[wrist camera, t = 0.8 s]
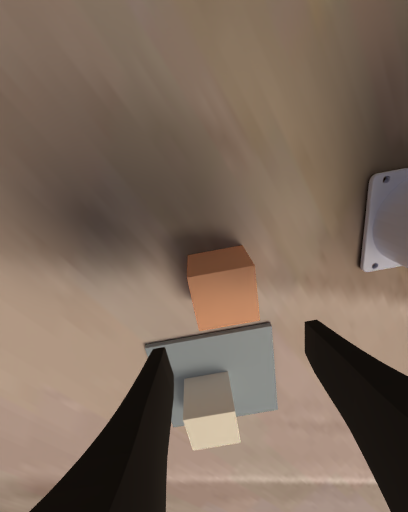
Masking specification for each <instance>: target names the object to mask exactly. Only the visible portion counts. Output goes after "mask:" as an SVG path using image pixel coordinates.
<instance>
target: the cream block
mask: <svg viewBox="0 0 408 512" xmlns="http://www.w3.org/2000/svg"><path fill="white" fill-rule="evenodd" d="M183 422H184V425H185V428H186V431H187V434H188V437H189V440H190V443H191V446H192V449H193V451H194V450H200V449H206V448H212V447H218V446H224V445H230V444H236V443H241V441H240V435H239V430H238V424H237V418H236V413H235V407H234V401H233V396H232V391H231V385H230V380H229V374H228V371H227V372H221V373H215V374H209V375H204V376H198V377H192V378H186V379H184V402H183Z"/></svg>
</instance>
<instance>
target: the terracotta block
mask: <svg viewBox="0 0 408 512" xmlns="http://www.w3.org/2000/svg"><path fill="white" fill-rule="evenodd" d="M187 280H188V285H189V289H190V293H191V298H192V302H193V306H194V311H195V315H196V319H197V324H198V328H199V331H203V330H208V329H214V328H220V327H225V326H231V325H237V324H243V323H248V322H254V321H260V316H259V305H258V295H257V284H256V274H255V265H254V264H253V262H252V260H251V259H250V257H249V255H248V254H247V252H246V250H245V249H244V247H243V246H242V245H240V246H235V247H230V248H224V249H219V250H213V251H208V252H202V253H197V254H191V255H188V261H187Z"/></svg>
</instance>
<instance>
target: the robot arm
mask: <svg viewBox="0 0 408 512" xmlns="http://www.w3.org/2000/svg"><path fill="white" fill-rule="evenodd" d="M384 177H386V179H385V181H384V182H383V178H384ZM374 263H375V264H374ZM373 264H374V265H373ZM372 265H373V266H372ZM399 266H404V267H406V268H408V168H403V169H397V170H392V171H387V172H381V173H376V174H374V175H373V176H372V177H371V178H370V181H369V188H368V198H367V207H366V217H365V226H364V236H363V245H362V255H361V264H360V268H361V270H363V271H365V272H371V271H377V270H382V269H388V268H393V267H399ZM305 354H306V356H307V358H308V360H309V362H310V364H311V366H312V368H313V370H314V372H315V374H316V376H317V377H318V379H319V380H320V382H321V384H322V385H323V387H324V389H325V390H326V392H327V393H328V395H329V396H330V398H331V400H332V401H333V403H334V404H335V406H336V408H337V409H338V411H339V412H340V414H341V416H342V417H343V419H344V420H345V422H346V424H347V426H348V427H349V429H350V431H351V433H352V435H353V437H354V438H355V440H356V442H357V444H358V446H359V448H360V450H361V452H362V454H363V456H364V458H365V460H366V462H367V464H368V466H369V468H370V470H371V472H372V474H373V476H374V478H375V480H376V482H377V484H378V486H379V488H380V490H381V492H382V494H383V496H384V498H385V500H386V502H387V505H388V507H389V509H390V511H391V512H408V376H406V375H404V374H402V373H400V372H399V371H397V370H395V369H393V368H391V367H389V366H388V365H386V364H384V363H382V362H381V361H379V360H377V359H376V358H374V357H372V356H370V355H369V354H367V353H366V352H364V351H362V350H361V349H359V348H358V347H356V346H355V345H353V344H352V343H350V342H348V341H347V340H346V339H344V338H343V337H341V336H340V335H338V334H337V333H335V332H334V331H332V330H331V329H329V328H328V327H327V326H325V325H324V324H322V323H321V322H319V321H318V320H313V321H307V322H305ZM173 400H174V374H173V371H172V368H171V365H170V361H169V358H168V355H167V352H166V349H165V347H161V348H156V349H153V350H152V351H151V353H150V355H149V357H148V359H147V361H146V363H145V365H144V366H143V368H142V370H141V372H140V374H139V375H138V377H137V379H136V381H135V382H134V384H133V386H132V387H131V389H130V391H129V392H128V394H127V395H126V397H125V399H124V400H123V402H122V403H121V405H120V406H119V408H118V409H117V411H116V412H115V414H114V415H113V417H112V418H111V419H110V421H109V422H108V424H107V425H106V426H105V428H104V429H103V430H102V432H101V433H100V434H99V435H98V437H97V438H96V439H95V440H94V442H93V443H92V444H91V446H90V447H89V448H88V449H87V450H86V452H85V453H84V454H83V455H82V456H81V458H80V459H79V460H78V461H77V462H76V463H75V464H74V466H73V467H72V468H71V469H70V470H69V471H68V472H67V473H66V474H65V476H64V477H63V478H62V479H61V480H60V481H59V482H58V483H57V484H56V485H55V486H54V487H53V489H52V490H51V491H50V492H49V493H48V494H47V495H46V496H45V497H44V498H43V499H42V500H41V501H40V502H39V503H38V504H37V505H36V506H35V507H34V508H33V509H32V510H31V511H30V512H166V476H167V455H168V444H169V436H170V427H171V418H172V409H173Z"/></svg>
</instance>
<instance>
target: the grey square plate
mask: <svg viewBox="0 0 408 512" xmlns="http://www.w3.org/2000/svg"><path fill="white" fill-rule="evenodd" d="M161 347H165V349H166V352H167V355H168V358H169V361H170V365H171V368H172V371H173V374H174V400H173V409H172V418H171V422H172V424H173V427H179V426H184V422H183V402H184V379H186V378H192V377H198V376H204V375H209V374H215V373H221V372H227V371H228V374H229V380H230V385H231V391H232V396H233V401H234V407H235V413H236V417H237V416H243V415H249V414H255V413H261V412H267V411H273V410H278V406H277V392H276V379H275V365H274V351H273V337H272V326H271V324H270V323H265V324H259V325H253V326H248V327H242V328H236V329H231V330H225V331H219V332H214V333H208V334H202V335H197V336H191V337H185V338H180V339H174V340H168V341H163V342H157V343H151V344H146V346H145V350H146V353H147V356H148V357H149V355H150V353H151V351H152V350H153V349H156V348H161Z"/></svg>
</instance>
